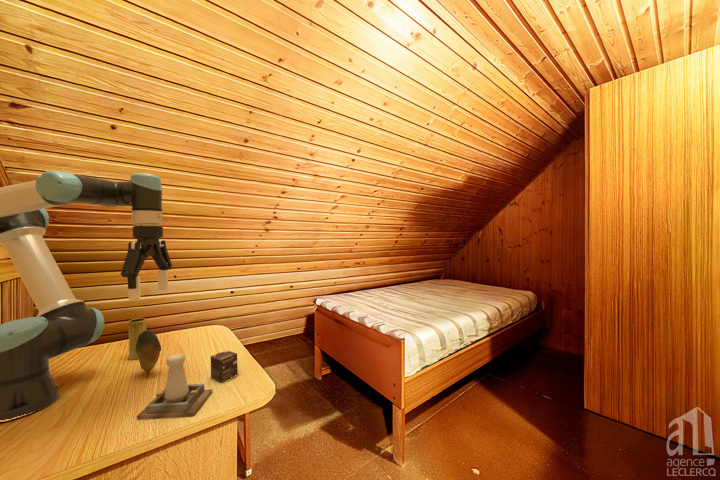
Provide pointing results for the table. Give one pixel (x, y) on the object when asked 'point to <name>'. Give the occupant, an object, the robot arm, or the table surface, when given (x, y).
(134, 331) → the vase
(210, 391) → the base
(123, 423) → the table surface
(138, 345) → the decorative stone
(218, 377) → the box
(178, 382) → the salt shaker
